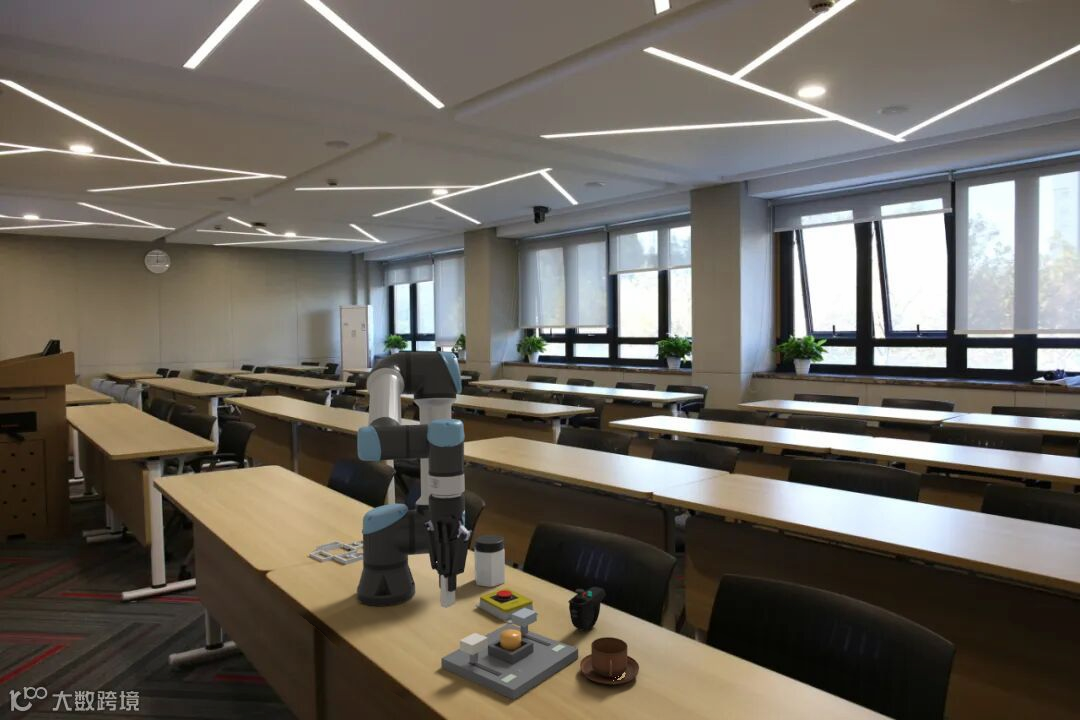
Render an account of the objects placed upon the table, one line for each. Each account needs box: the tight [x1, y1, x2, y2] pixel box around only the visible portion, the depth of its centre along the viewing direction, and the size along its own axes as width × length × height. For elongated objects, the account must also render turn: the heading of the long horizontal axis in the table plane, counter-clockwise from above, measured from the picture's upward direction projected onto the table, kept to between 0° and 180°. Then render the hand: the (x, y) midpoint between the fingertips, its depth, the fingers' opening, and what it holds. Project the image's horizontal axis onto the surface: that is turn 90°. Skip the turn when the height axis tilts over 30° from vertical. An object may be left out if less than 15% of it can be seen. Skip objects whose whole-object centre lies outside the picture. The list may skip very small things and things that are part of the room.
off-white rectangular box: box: [459, 632, 488, 663], centre depth 139 cm, size 4×4×5 cm
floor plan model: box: [309, 539, 363, 565], centre depth 212 cm, size 19×25×2 cm
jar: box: [473, 534, 506, 588], centre depth 190 cm, size 9×8×12 cm
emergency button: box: [475, 587, 539, 625], centre depth 171 cm, size 9×4×15 cm
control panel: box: [441, 623, 579, 701], centre depth 144 cm, size 20×21×4 cm
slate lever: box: [512, 608, 538, 635], centre depth 152 cm, size 4×4×5 cm
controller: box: [567, 586, 607, 632], centre depth 160 cm, size 4×12×10 cm, turn 145°
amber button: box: [500, 629, 521, 650], centre depth 144 cm, size 4×4×2 cm
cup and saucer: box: [579, 636, 640, 685], centre depth 139 cm, size 12×12×6 cm
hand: (448, 604), depth 143 cm, fingers closed
